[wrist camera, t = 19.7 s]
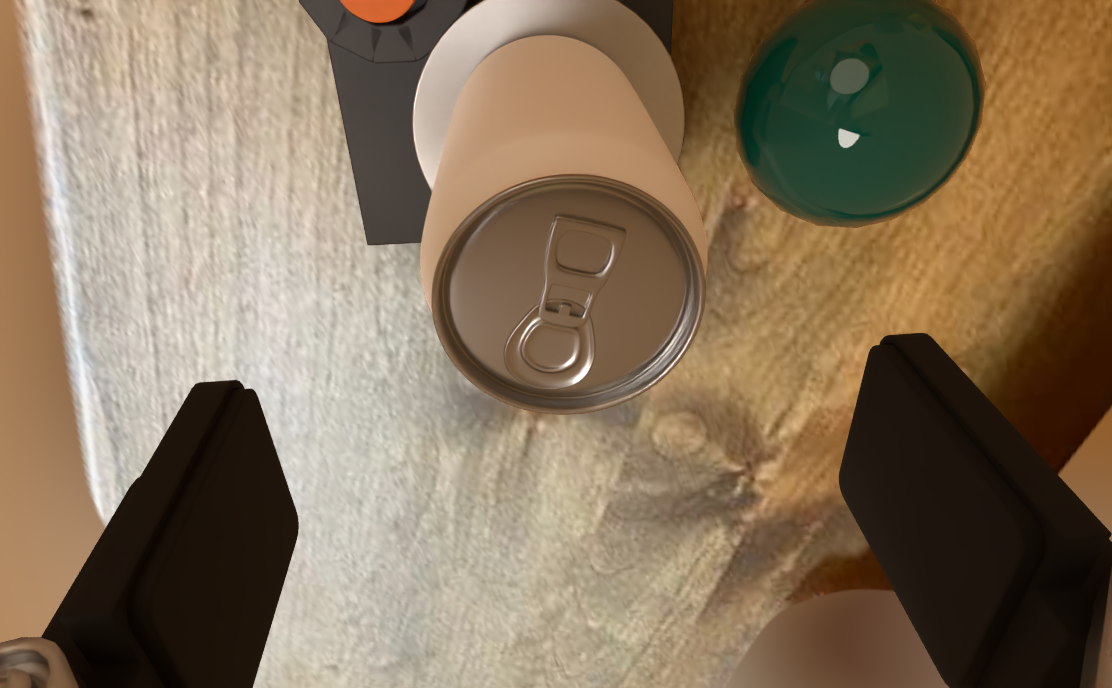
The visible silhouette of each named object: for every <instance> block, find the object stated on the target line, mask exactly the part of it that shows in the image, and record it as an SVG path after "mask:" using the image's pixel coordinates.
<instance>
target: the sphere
mask: <svg viewBox="0 0 1112 688" xmlns="http://www.w3.org/2000/svg"><path fill="white" fill-rule="evenodd" d="M985 88H986V82H985V78H984V74H983V70H982V66H981V62H980V58H979V54H978V50H977V47H976V44H975V42H974V41H973V39H972V38H971V37H970V35H969V34H968V33H967V31H966V30H965V29H964V27H963V26H962V25H961V23H960V22H959V21H958V19H957V18H956V17H955V16H954V14H953V13H952V12H951V11H950V10H949V9H948V8H946V7H944V6H943V5H941V4H939V3H937V2H935V1H933V0H810V1H808V2H807V3H805V4H803V5H802V6H800V7H798V8H797V9H795V10H793V11H792V12H790V13H788V14H787V15H785V16H784V18H783V19H782V20H781V21H780V22H779V23H778V24H777V25H776V26H775V27H774V28H773V29H772V30H771V31H770V32H769V33H768V34H767V35H766V37H765V38H764V39H763V40H762V41H761V42H760V43H759V44H758V46H757V48H756V50H755V52H754V54H753V55H752V57H751V59H750V61H749V63H748V65H747V67H746V68H745V70H744V72H743V74H742V76H741V79H740V84H739V88H738V93H737V97H736V102H735V106H734V124H735V135H736V146H737V151H738V153H739V155H740V157H741V160H742V162H743V164H744V166H745V168H746V170H747V173H748V175H749V177H750V179H751V181H752V183H753V184H754V185H755V186H756V187H757V188H758V189H759V190H760V191H761V192H762V193H763V194H764V195H765V196H766V197H767V198H768V199H769V200H770V201H771V202H772V203H773V204H774V205H776V206H777V207H778V208H779V209H780V210H781V211H783V212H786V213H788V214H791V215H793V216H795V217H798V218H800V219H802V220H805V221H807V222H810V223H812V224H814V225H817V226H832V227H846V228H859V227H863V226H868V225H872V224H877V223H881V222H886V221H889V220H892V219H895V218H896V217H898V216H900V215H902V214H904V213H906V212H908V211H910V210H912V209H914V208H916V207H918V206H920V205H922V204H923V203H925V202H926V201H927V200H928V199H929V198H931V197H932V196H933V195H934V194H935V193H936V192H938V191H939V190H940V189H941V188H942V187H944V186H945V185H946V184H947V183H948V182H949V181H950V179H951V178H952V177H953V175H954V174H955V173H956V171H957V170H958V169H959V167H960V166H961V165H962V163H963V162H964V161H965V159H966V158H967V156H968V155H969V153H970V150H971V148H972V146H973V143H974V141H975V138H976V136H977V133H978V131H979V128H980V126H981V123H982V118H983V108H984V98H985Z"/></svg>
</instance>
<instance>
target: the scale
mask: <svg viewBox="0 0 1112 688" xmlns="http://www.w3.org/2000/svg"><path fill="white" fill-rule="evenodd" d="M478 1H479V0H416V1H415V2H414V3H413V5H412V6H411V7H410V8H409V9H408V11H407V12H406V13H405V14H403V15H402V16H401V17H399V18H397V19H395V20H393V21H389V22H384V23H375V22H370V21H366V20H363V19H361V18H359V17H357V16H356V15H354V14H353V13H351V12H350V11H349V10H348V9H347V8H346V7H345V6H344V5H343V4H342V3H341V1H340V0H299V2H300V4H301V5H302V6H303V7H304V9H305V10H306V11H307V13H308V14H309V15H310V17H311V18H312V19H313V21H314V22H315V23H316V25H317V26H318V27H319V28H320V30H321V31H322V32H323V34H324V35H325V36H326V38H327V43H328V48H329V53H330V58H331V63H332V68H333V73H334V78H335V83H336V88H337V94H338V99H339V104H340V109H341V114H342V119H343V124H344V129H345V134H346V139H347V144H348V149H349V154H350V159H351V164H352V169H353V174H354V179H355V184H356V189H357V194H358V200H359V205H360V210H361V215H362V220H363V225H364V230H365V235H366V240H367V244H368V245H385V244H403V243H421V241H422V235H423V229H424V224H425V220H426V215H427V211H428V207H429V202H430V198H431V194H432V192H431V190H430V188H429V186H428V184H427V182H426V180H425V178H424V176H423V174H422V171H421V168H420V165H419V163H418V160H417V156H416V151H415V147H414V142H413V131H412V110H413V101H414V95H415V90H416V86H417V82H418V79H419V76H420V73H421V70H422V68H423V66H424V64H425V62H426V60H427V57H428V55H429V53H430V51H431V49H432V48H433V46H434V45H435V43H436V42H437V40H438V39H439V37H440V36H441V34H442V33H443V32H444V31H445V30H446V28H447V27H448V26H449V25H450V24H451V23H452V22H453V21H454V20H455V18H457V17H458V16H459V15H460V14H461V13H463V12H464V11H465V10H466V9H467V8H469V7H470V6H471V5H473V4H475V3H476V2H478ZM619 1H621V2H622V3H624V4H625V5H626V6H628V7H629V8H631V9H632V10H633V11H635V12H636V13H637V14H638V15H639V16H640V17H641V18H642V19H643V20H644V21H645V22H646V23H647V24H648V25H649V26H650V27H651V28H652V30H653V31H654V32H655V33H656V35H657V36H658V37H659V38H660V40H661V41H662V43H663V44H664V46H665V48H666V49H667V51H668V53H669V54H670V56H671V38H672V16H673V0H619Z"/></svg>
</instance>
